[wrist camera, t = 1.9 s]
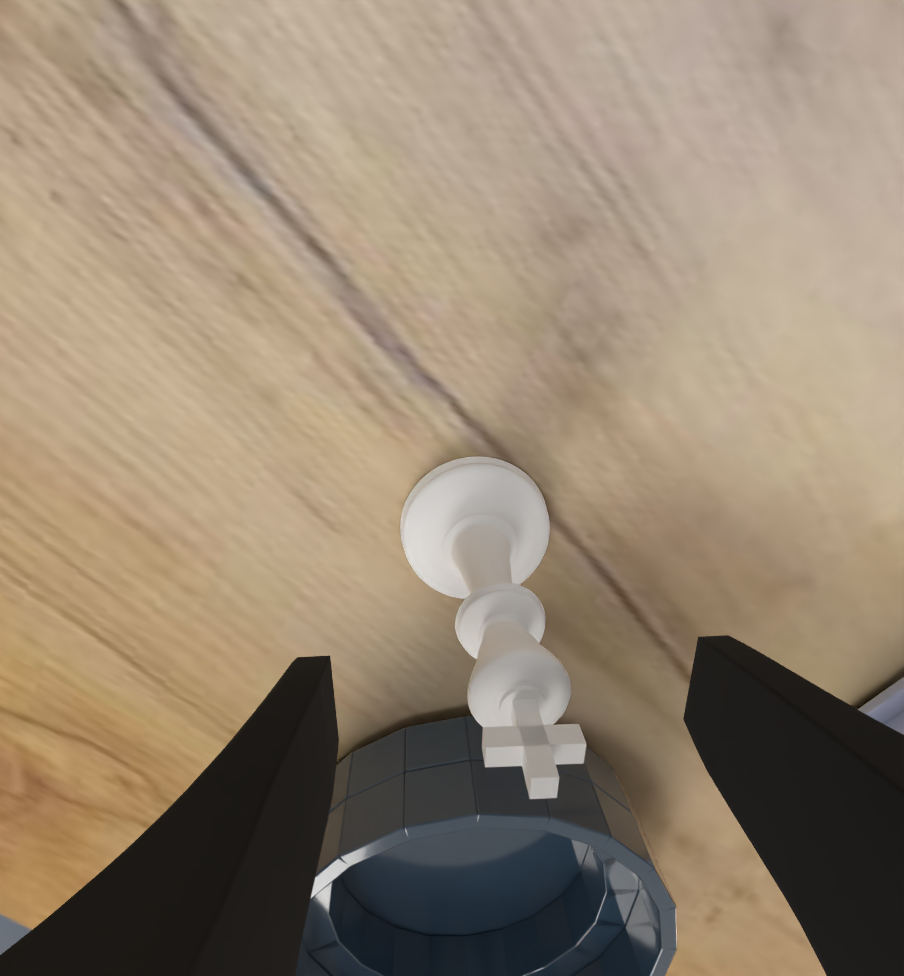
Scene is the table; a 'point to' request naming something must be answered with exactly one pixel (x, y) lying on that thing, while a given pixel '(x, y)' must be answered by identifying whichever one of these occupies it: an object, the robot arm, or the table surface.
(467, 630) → the chess piece
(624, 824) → the bowl
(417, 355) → the table surface
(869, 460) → the table surface
